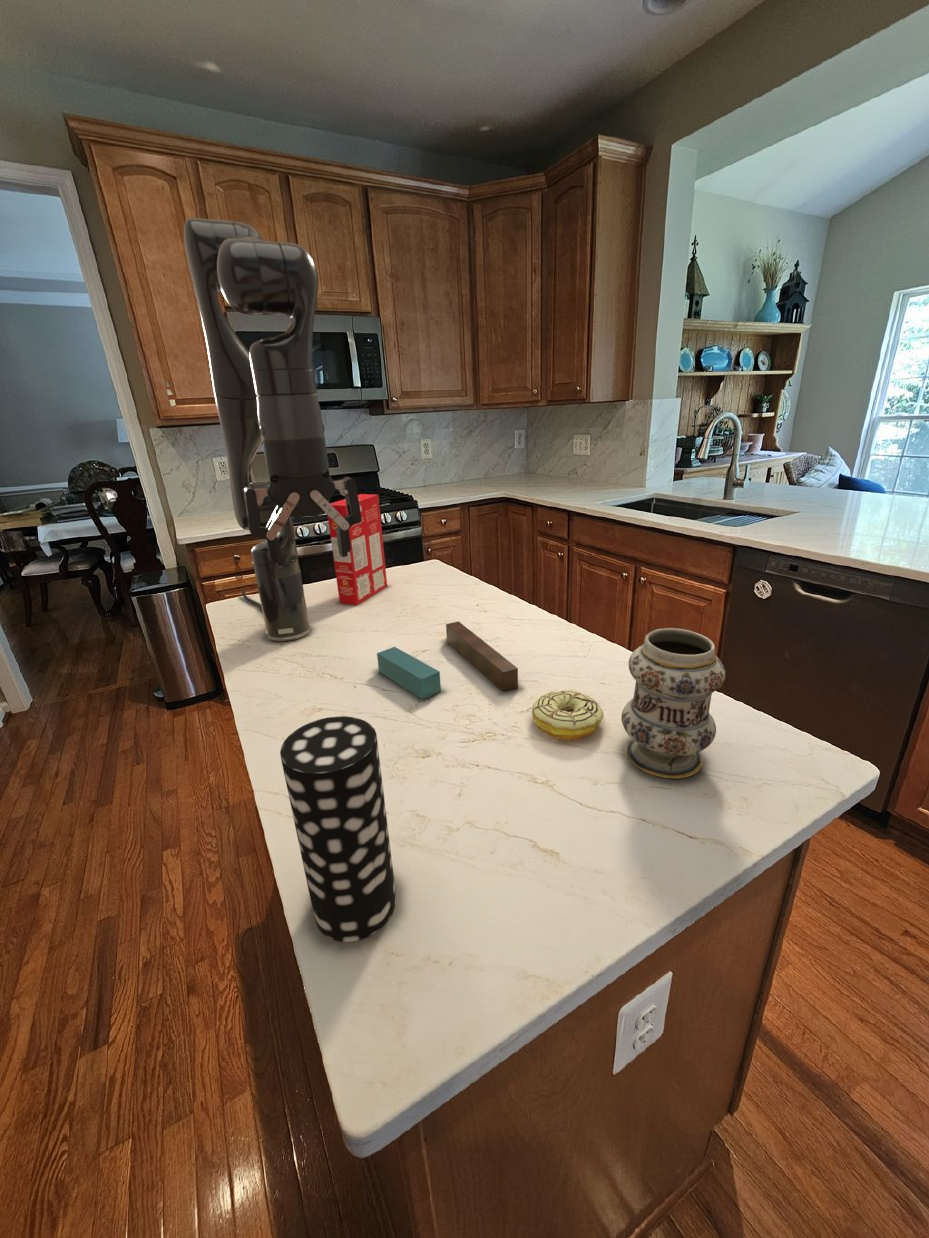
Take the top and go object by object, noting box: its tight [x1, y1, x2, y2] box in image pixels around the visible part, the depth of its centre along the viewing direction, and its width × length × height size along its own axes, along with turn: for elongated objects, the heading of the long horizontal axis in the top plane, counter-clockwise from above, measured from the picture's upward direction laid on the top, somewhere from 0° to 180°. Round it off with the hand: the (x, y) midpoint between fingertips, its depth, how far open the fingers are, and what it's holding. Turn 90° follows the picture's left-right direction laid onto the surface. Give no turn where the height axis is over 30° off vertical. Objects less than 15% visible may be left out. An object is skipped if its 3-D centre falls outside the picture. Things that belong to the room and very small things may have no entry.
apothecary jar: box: [621, 627, 726, 780], centre depth 71 cm, size 12×12×18 cm
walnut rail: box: [445, 621, 519, 693], centre depth 102 cm, size 24×3×4 cm, turn 26°
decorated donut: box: [531, 689, 605, 741], centre depth 82 cm, size 10×11×4 cm
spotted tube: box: [279, 715, 397, 943], centre depth 51 cm, size 8×8×20 cm
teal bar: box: [376, 646, 442, 700], centre depth 96 cm, size 14×4×4 cm, turn 41°
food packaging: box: [327, 493, 388, 606], centre depth 136 cm, size 15×5×25 cm, turn 157°
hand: (312, 560), depth 72 cm, fingers open, 8 cm apart
